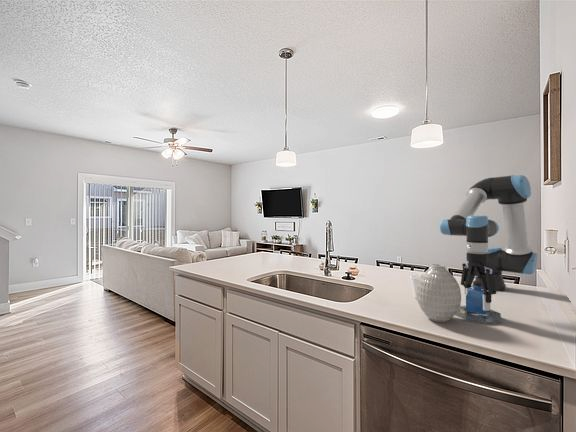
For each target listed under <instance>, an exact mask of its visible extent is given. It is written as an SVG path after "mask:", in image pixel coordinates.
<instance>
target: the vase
mask: <svg viewBox="0 0 576 432" xmlns="http://www.w3.org/2000/svg"><path fill="white" fill-rule="evenodd" d="M421 275H422V276H421V277H420V279H419V281H418V283H417V287H416V296H417V299H416V300H417V304H418V306H419V307H420V310H421V311H422V312H423V313H424V315H425V316H426V317H427V318H428V319H429V320H431V321H433V322H437V323H447V322H448V321H450V320H451V319H453V318H454V316H456V315H455V314H456V313H457V311H458V310H459V307H460V306H461V303H462V292H461V287H460V284H459V283H458V281H457V279H456V277H454V275H453V274H452V273H451V272H449V270H448V269H446V267H445V265H444V264H440V263H433V264H432V263H431V264H430V267H429V268H427V270H426V271H424V272H423V274H421Z"/></svg>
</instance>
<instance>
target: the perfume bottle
mask: <svg viewBox="0 0 576 432" xmlns="http://www.w3.org/2000/svg"><path fill="white" fill-rule="evenodd" d="M471 286H472V287H471V288H472V289H471V290H470V291H469V292H468V294H467V295H465V306H466V311H470V312H469V313H474V314H479V315H481V316H482V315H485V313H487V312H489V310H487V311H484V310H483V293H484V290H483V289H481V288H482V285H481V282H477V281H475V280H473V283H472V285H471Z"/></svg>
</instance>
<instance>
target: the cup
mask: <svg viewBox="0 0 576 432" xmlns="http://www.w3.org/2000/svg"><path fill="white" fill-rule="evenodd" d="M421 276H422V274H411V275H410V276H409V278H410V283H411V289H412V293H413V294H412V295H413V297H414V299H415V300H417V296H416V287H417V283H418V281H419V279H420V277H421Z"/></svg>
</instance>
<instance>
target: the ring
mask: <svg viewBox="0 0 576 432" xmlns="http://www.w3.org/2000/svg"><path fill="white" fill-rule="evenodd" d="M484 315H485V316H482V315H477V314H472V313H471V312H470V311H466V305H460V307H459V310H458V311H457V313H456V314H455V315H454V316H455V317H456V316H457V317H459V318H460V319H462V320H465V321H467V322H468V321H469V322H473V323H478V324H484V325H495V324H502V316H501V313H500V312H499V311H496V310H492V309H491V308H490V310H489V312H487V313H485V314H484Z"/></svg>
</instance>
